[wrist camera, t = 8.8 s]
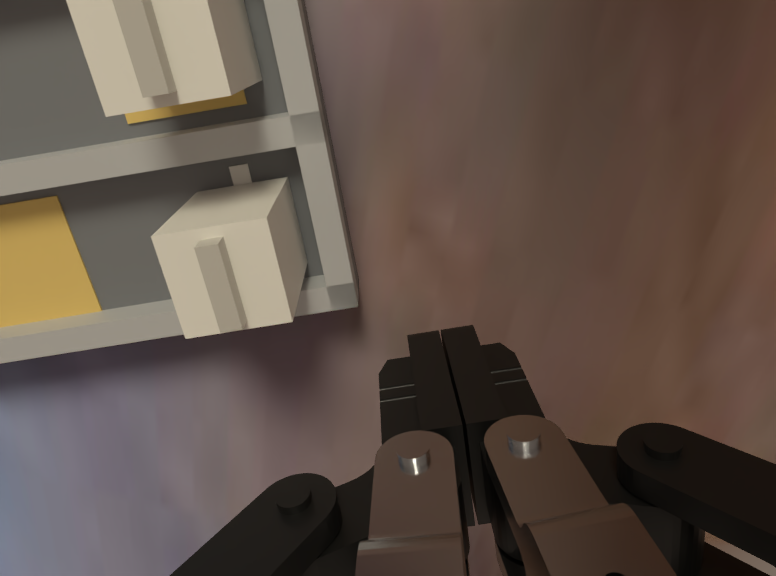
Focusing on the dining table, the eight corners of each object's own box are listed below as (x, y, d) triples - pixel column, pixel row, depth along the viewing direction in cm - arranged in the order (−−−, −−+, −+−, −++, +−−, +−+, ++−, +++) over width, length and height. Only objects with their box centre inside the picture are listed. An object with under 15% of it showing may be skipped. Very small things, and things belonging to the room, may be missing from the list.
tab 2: (287, 176, 25) (262, 224, 19) (307, 262, 27) (290, 332, 21) (196, 191, 26) (142, 244, 19) (221, 276, 27) (178, 349, 21)
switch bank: (285, -95, 23) (274, -112, 20) (358, 280, 29) (358, 306, 27) (-209, -6, 24) (-285, -10, 21) (-31, 342, 30) (-71, 374, 27)
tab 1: (236, -32, 22) (186, -55, 16) (262, 79, 24) (225, 98, 18) (132, -13, 22) (43, -29, 16) (165, 96, 24) (95, 120, 18)
